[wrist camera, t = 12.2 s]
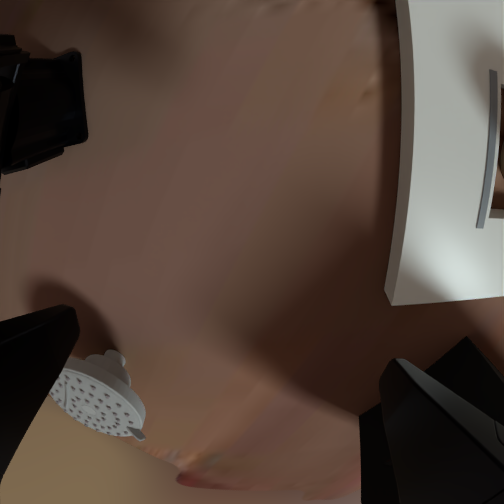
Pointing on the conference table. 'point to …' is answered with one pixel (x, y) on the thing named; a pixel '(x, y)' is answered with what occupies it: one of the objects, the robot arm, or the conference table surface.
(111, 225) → the conference table surface
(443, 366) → the uninterruptible power supply
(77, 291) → the conference table surface
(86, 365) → the showerhead
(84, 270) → the conference table surface
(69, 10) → the conference table surface
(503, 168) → the beech peg
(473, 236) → the hole plate
